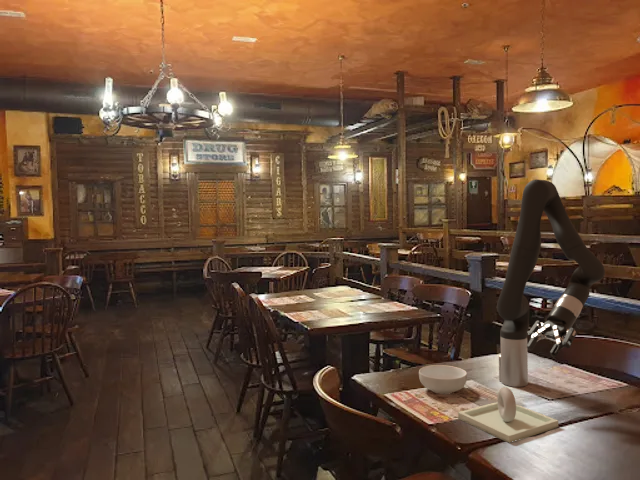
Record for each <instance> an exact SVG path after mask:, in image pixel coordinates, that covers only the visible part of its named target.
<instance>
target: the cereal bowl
mask: <svg viewBox="0 0 640 480" xmlns="http://www.w3.org/2000/svg"><path fill="white" fill-rule="evenodd" d="M467 375H468V373H467V371H466V370H465V369H463V368H460V367H458V366H457V367H456V366H452V365H445V364H444V365H443V364H432V365H426V366H423V367H421V368H420V369H419V370H418V378H419V381H420V383H421V384H422V386H423V387H425V388H426V389H428V390H430V391H432V392H433V393H435V394H438V393H440V395H450V394H449V393H451V394H453V393H454V392H459V391H460V390H461V389H463V388H464V387H465V385H466V383H467V379H468V376H467ZM452 392H453V393H452Z"/></svg>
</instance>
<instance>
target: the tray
mask: <svg viewBox="0 0 640 480" xmlns="http://www.w3.org/2000/svg"><path fill="white" fill-rule="evenodd" d="M457 419H458V420H460V421H463V423H467V424H468V425H470V426H472V427H474V428H477V429H479V430H481V431H482V432H485V433H487V434H489V435H491V436H494V437H496V438H497V439H500V440H501V441H504V442H506V443H508V442H509V443H508V444H510V442H511V443H513V442H512V441H514V442H516V441H515V440H517V441H520V440H519V439H521V440H522V439H523V438H524V439H527V438H528V437H529V438H530V437H532V436H536V435H538V434H541V433H545V432H547V431H551V430H555V429H558V428H559V419H558V420H557V419H556V418H552V417H550V416H548V415H544V414H543V413H540V412H537V411H535V410H532V409H529V408H527V407H524V406H521V405H520V404H517V403H516V415H515V418H514V420H513V421H511V422H506V421H504V420H503V419H502V418H501V416H500V414H499V410H498V404H497V401H496V402H492V403H488V404H483V405H481V406H475V407H473V408H469V409H465V410H462V411H461V410H460V411H457Z"/></svg>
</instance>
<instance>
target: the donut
mask: <svg viewBox="0 0 640 480" xmlns="http://www.w3.org/2000/svg"><path fill="white" fill-rule="evenodd" d="M496 402H497V404H498V410H499V414H500V416H501V418H502V419H503V420H504V421H506V422H511V421H513V420H514V418H515V415H516V404H517V403H516V398H515V394H514V393H513V391H512V390H511V389H510V388H509V387H506V386H503V387H501V388H499V390H498V392H497V401H496Z"/></svg>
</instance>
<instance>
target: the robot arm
mask: <svg viewBox="0 0 640 480" xmlns="http://www.w3.org/2000/svg"><path fill="white" fill-rule="evenodd" d="M521 196H522V197H521V205H520V213H519V218H518V223H517V226H516V230H515V235H514V239H513V242H512V247H511V251H510V256H509V260H508V265H507V269H506V275H505V279H504V282H503V285H502V289H501V290H500V294H499V297H498V299H497V304H496V310H497V313H498V315H499V316H500V318H502V319H503V324H502V326H501V327H500V332H499V333H500V355H498V381H499V382H501V384H502V385H505V386H509V387H513V388H514V387H516V388H517V387H519V388H521V387H526V386H528V384H529V376H528V375H529V371H528V370H529V367H528V366H529V364H528V363H529V362H528V360H529V359H528V351H529V352H530V351H531V352H532V351H534V349H535V347H536V346H537V344H538V342H539V341H541V340H545V339H552V340H554V341H555V342H556V343H554V344H553V346H552V348H551V350H550V351H549V356H550V357H552V358H554V359H555V358H556V357H557V356H559V354H560V352H561V350H562V349H564V348H566V349H570V348H571V347H572V346H571V345H572V344H573V343H574V341H575V338H576V337H577V335H578V333H577V332H576V330H575V329H574V328H573V326H574V323H576V321H577V319H578V318H579V316H580V314H581V312H582V309H583V307H584V306H585V304H586V302H587V301H588V299H589V297H590V291H589V290H590V289H591V287H592V286H593V285H594V284H596V283H598V282H599V281H601V280H603V279H604V278H605V275H606V270H605V266H604V264H603V263H602V261H601V260H600V259H599V258H598V257H597V256H596V255H595V254H594V253H593V252H592V250H590V249H589V248H588V247H587V246H586V243H585V242H584V241H583V239H582V236H580V234H579V232H578V230H577V229H576V228H575V225H574V224H573V223H572V221H571V219H570V217H569V215H568V213H567V211H566V209H565V206H564V204H563V202H562V199H561V197H560V194H559V191H558V189H557V187H556V185H555V184H554V183H553V182H552V181H550V180H546V179H533V180H530V181H529V182H527V183H526V185H525V187H524V189H523V190H522V195H521ZM544 213H545V215H546V216H547V218H548V220H549V222H550V225H551V229H552V230H553V231H552V232H553V235H554V237H555V240H556V242H557V244H558V246H559V247H560V249H561V251H562V252H563V254H564V255H565V257H566V259H567V260H568V261H575V263H577V264H578V267H577V268H576V269H575V270H574V271H573V272H572V274H571V277H570V279H569V282H568V285H567V286H566V287H565V289H564V290H563V292H562V294H561V296H560V297H559V298H558V299H557V301H555V304H554V305H553V307H552V309H550V312H549V313H548V315H547V318H546V321H545V322H544V323H543V322H540V320H536V321H535V322H534V324H533V325H532V327H531V328H530V304H529V301H528V299H527V297H526V296H525V295H524V292H525V288H526V285H527V284H528V283H527V282H528V280H529V279H530V277H531V275H532V274H533V271H534V269H535V268H536V266H537V262H538V259H539V255H540V251H541V246H542V234H541V221H542V216H543V214H544ZM529 329H530V330H529ZM542 333H543V334H542ZM528 336H529V337H530V338H529V341H528Z"/></svg>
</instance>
